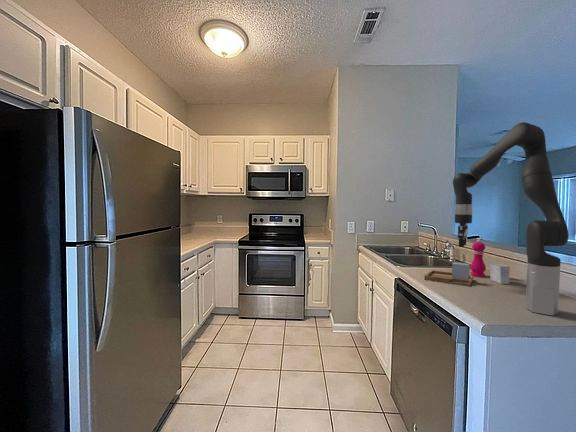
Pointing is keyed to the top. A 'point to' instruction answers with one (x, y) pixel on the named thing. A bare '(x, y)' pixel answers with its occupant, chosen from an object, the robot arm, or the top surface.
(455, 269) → the panel block
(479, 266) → the pepper mill
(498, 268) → the medicine box
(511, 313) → the top surface
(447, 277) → the wooden serving tray
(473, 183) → the robot arm
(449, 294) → the top surface
